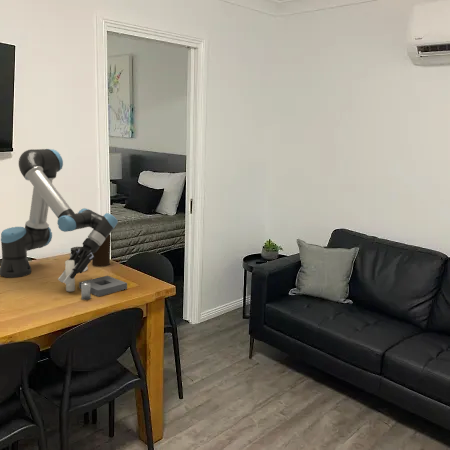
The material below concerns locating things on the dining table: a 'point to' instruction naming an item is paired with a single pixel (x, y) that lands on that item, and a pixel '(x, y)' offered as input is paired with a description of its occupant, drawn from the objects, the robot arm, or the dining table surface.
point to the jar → (72, 254)
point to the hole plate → (105, 285)
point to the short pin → (85, 290)
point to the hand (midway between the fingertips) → (62, 282)
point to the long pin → (68, 267)
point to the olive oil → (102, 254)
